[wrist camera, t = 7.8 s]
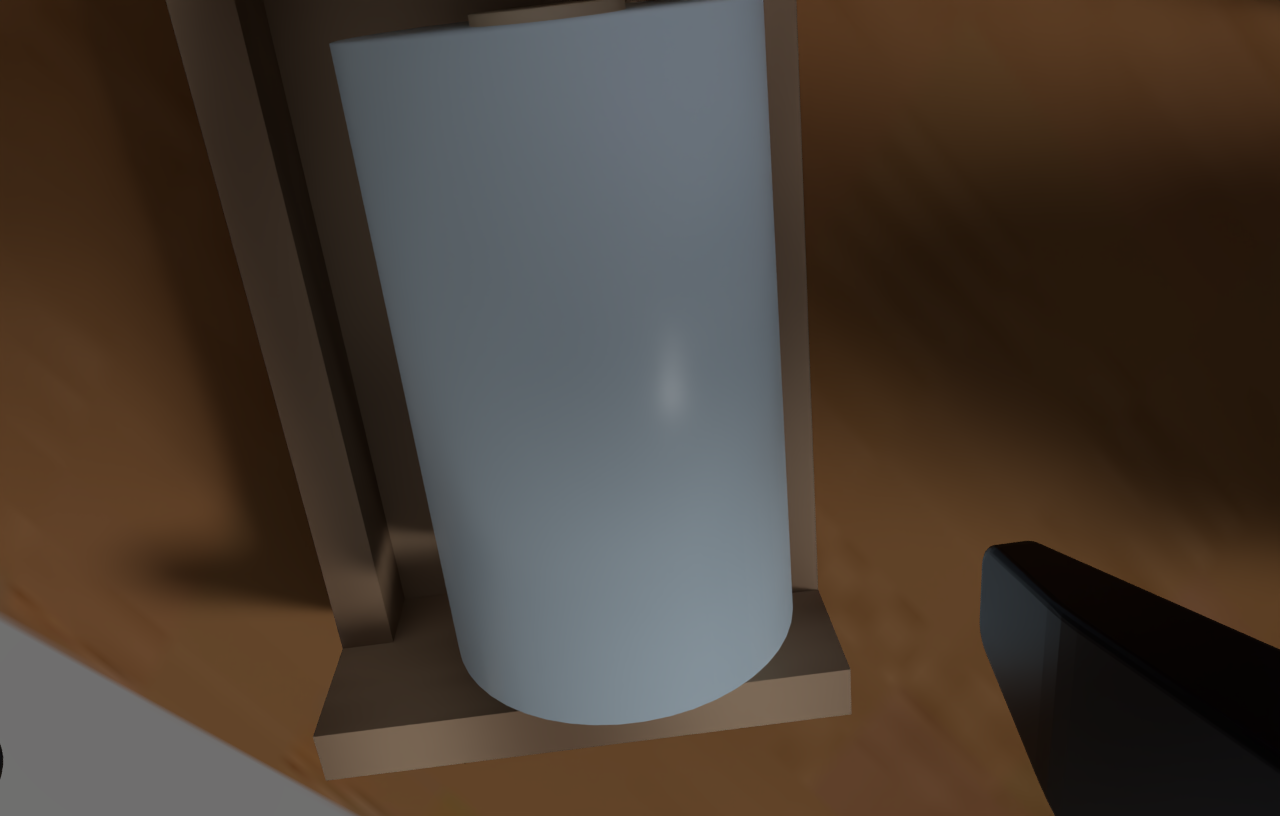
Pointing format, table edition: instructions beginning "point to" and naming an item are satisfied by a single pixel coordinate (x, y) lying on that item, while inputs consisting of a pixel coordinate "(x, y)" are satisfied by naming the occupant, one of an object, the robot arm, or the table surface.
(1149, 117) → the table surface
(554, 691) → the roll
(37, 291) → the table surface
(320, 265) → the holder
